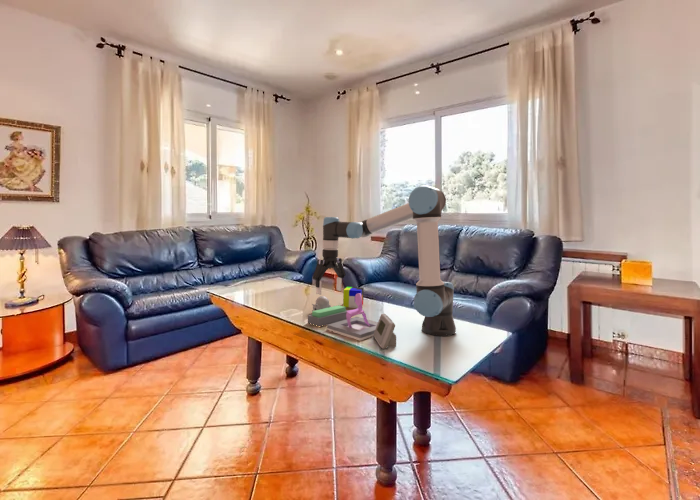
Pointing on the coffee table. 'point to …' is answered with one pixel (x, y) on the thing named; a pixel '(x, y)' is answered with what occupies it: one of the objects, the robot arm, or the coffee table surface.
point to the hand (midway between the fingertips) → (329, 292)
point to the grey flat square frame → (354, 328)
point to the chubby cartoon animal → (321, 303)
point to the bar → (328, 311)
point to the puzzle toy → (351, 296)
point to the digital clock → (385, 332)
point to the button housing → (327, 319)
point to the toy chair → (356, 310)
